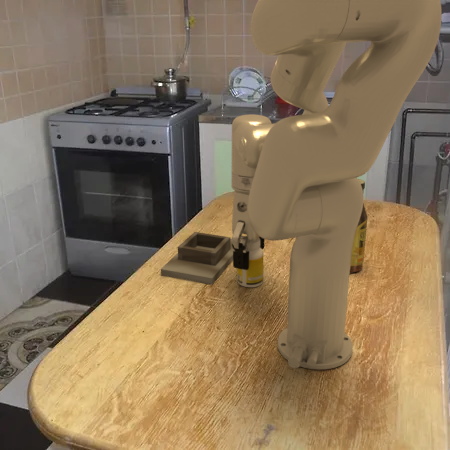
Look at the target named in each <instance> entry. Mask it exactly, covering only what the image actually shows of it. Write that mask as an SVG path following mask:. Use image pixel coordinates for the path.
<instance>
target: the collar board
mask: <svg viewBox="0 0 450 450" xmlns="http://www.w3.org/2000/svg"><path fill="white" fill-rule="evenodd" d="M240 243H241V242H240ZM231 263H233V247H232V236H231V237H230V236H223V235H218V234H211V233H203V232H199V231H194V232H193V233H191V234H190V236H188V237H187V238H186V239H185V240H184V241H182V242H181V244H179V245H178V246H177V253H176V254H175V255H173V257H171V259H169V260H168V262H166V263H165V264H164V265H163V266H162V267H161V268H160V276H164V277H168V278H169V277H170V278H174V279H180V280H184V281H191V282H197V283H202V284H206V285H213V284H214V283H215V282H216V281H217V280H218V279H219V277H220V276H222V274H223V273H224V271H226V269H227V268H228V267H229V266H230V265H231Z"/></svg>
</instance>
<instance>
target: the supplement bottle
mask: <svg viewBox="0 0 450 450" xmlns="http://www.w3.org/2000/svg"><path fill="white" fill-rule="evenodd" d="M245 236H246V237H247V235H245ZM241 243H242V244H243V245H245V240H241ZM248 251H249V269H248V270H243V269H238V268H236V269H237V274H236V276H237V278H236V280H237V283H238V284H239V285H240V286H242V287H245V288H256V287H259V286H261V285H262V283H264V249H261V248H260V238H258V239H257V240H256V241H252V240H250V242H249V247H248Z"/></svg>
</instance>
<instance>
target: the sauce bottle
mask: <svg viewBox="0 0 450 450" xmlns="http://www.w3.org/2000/svg"><path fill="white" fill-rule="evenodd" d="M357 179H358V180H359V182H360V184H361V186H362V190H363V194H365V193H364V190H365V187H366V181H365V180H363V179H359V178H357ZM368 218H369V217H368V215H367V210H366V207H365V204H364V202H363V208H362V213H361V216H360V220H359V223H358V226H357V229H356V233H355V237H354V242H353V248H352V256H351V266H350V273H357V272H360V271H361V270H362V268H363V265H364V260H365V259H364V258H365V248H366V241H367V240H366V239H367V227H368Z"/></svg>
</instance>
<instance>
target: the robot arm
mask: <svg viewBox="0 0 450 450" xmlns="http://www.w3.org/2000/svg"><path fill="white" fill-rule="evenodd" d="M251 16H252V17H251V20H250V34H251V39H252V42H253V46H254V47H255V48H256V50H258V52H260V53H261V54H263V55H265V56H277V57H276V60H275V63H274V66H273V68H272V70H271V73H270V84H271V87H272V89H273V92H274V93H275V94H276V95H277V96H278V97H279V98H280V99H281V100H282V101H284V102H286V103H288V104H290V105H291V106H294V107H296V108H299V109H302V110H303V113H302V114H298V115H290V116H288V117H284V118H281V119H280V120H278V121H276V122H275V123H272V121H271V120H270V118H269V117H267V116H265V115H262V114H253V113H252V114H251V113H250V114H241V115H238V116H236V117H235V118H233V121H232V123H231V181H230V182H231V183H230V184H231V189H232V190H234V193H233V201H232V202H233V203H232V216H231V217H232V220H231V227H232V229H231V231H232V236H231V239H232V247H233V261H232V267H233V268H234V269H237V268H238V269H243V270H248V269H249V251H248V247H249V242H250V240H252V241H256V240H257V239H258V238H260V248H261V249H262V250H264V249H265V241H266V240H267V241H273V242H274V241H282V240H283V241H284V240H288V239H294V238H295V240H294V242H293V244H292V247H291V252H290V256H289V257H290V259H289V278H288V302H287V303H288V304H287V305H288V306H287V326H286V327H285V328H284V329H283V330H282V331H281V332H280V333H279V334H278V336H277V337H278V338H277V348H278V352H279V353H280V354H281V356H282V357H283V358H284V359H286V360H287V364H288V366H289V367H290V368H292V369H298V368H299V367H302V368H304V369H309V370H331V369H334V368H338V367H340V366H342V365H344V364H345V363H346V362H348V361H349V360H350V358H351V357H352V355H353V349H354V348H353V347H354V346H353V341H352V339H351V338H350V336H349V335H348V334H347V333H346V332H345V331H346V321H347V320H346V318H347V306H348V295H349V294H348V293H349V283H350V266H351V256H352V248H353V242H354V237H355V233H356V229H357V226H358V223H359V220H360V216H361V213H362V208H363V203H364V193H363V190H362V186H361V184H360V182H359V180H358V179H359V177H362V176H363V175H365V174H366V173H367V172H369V171H370V170H371V168H372V167H373V165H374V164H375V162H376V160H377V158H378V157H379V154H380V152H381V150H382V148H383V146H384V144H385V142H386V140H387V138H388V136H389V134H390V132H391V130H392V128H393V126H394V124H395V122H396V120H397V118H398V116H399V113H400V111H401V109H402V107H403V105H404V103H405V101H406V99H407V98H408V96H409V95H410V93H411V91H412V89H413V87H415V85H416V83H417V82H418V81H419V79H420V77H421V76H422V74H423V73H424V71H425V69H426V68H427V66H428V64H429V63H430V60H431V59H432V57H433V54H434V52H435V50H436V48H437V45H438V41H439V37H440V34H441V28H442V17H443V15H442V3H441V0H258V1H257V2H256V3H255V7H254V10H253V12H252V15H251ZM359 42H361V43H362V42H370V44H369V46H368V48H366V50H365V51H364V52H363V53H361V54H360V55H358V57H356V59H354V61H353V62H351V64H350V65H349V66H348V67H347V69H346V70H345V71H344V73H343V74H342V75H341V78H340V80H338V82H337V85H336V89H335V91H334V94H333V96H332V98H331V102H328V99H327V96H326V95H325V93H324V90H325V88H326V86H327V85H328V82H329V80H330V78H331V76H332V74H333V72H334V70H335V68H336V67H337V64H338V62H339V60H340V58H341V56H342V54H343V52H344V50H345V47H346V45H347V43H359ZM246 236H247V237H246ZM241 240H245V245H243V244H242V243H240V242H241Z"/></svg>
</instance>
